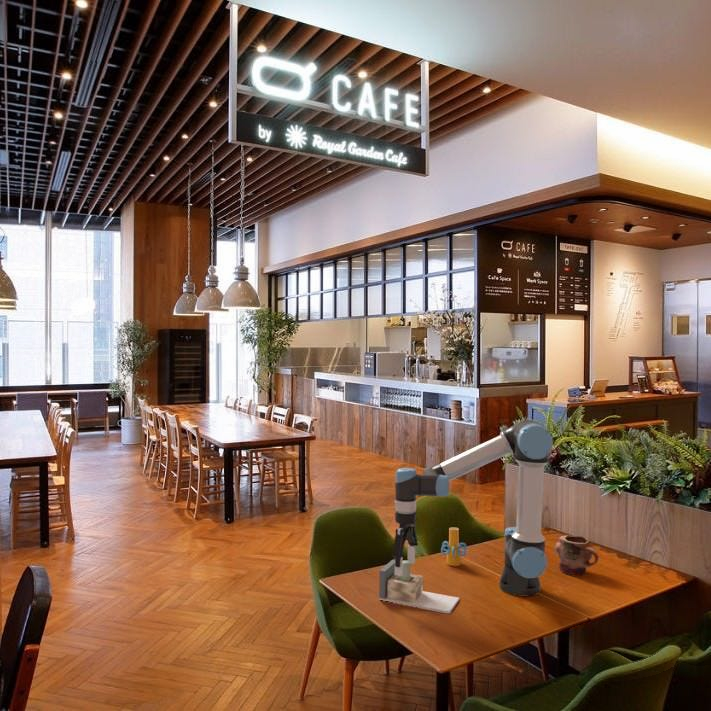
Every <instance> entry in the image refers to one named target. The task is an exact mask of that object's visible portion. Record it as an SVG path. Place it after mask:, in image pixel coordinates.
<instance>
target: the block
mask: <svg viewBox="0 0 711 711" xmlns="http://www.w3.org/2000/svg"><path fill="white" fill-rule="evenodd" d="M423 581H424V580H423V575H419V574H414V573H413V574H412V573H410V582H406V581H400V580H399V576H397V575H395V574H394V575H393V576H392V577H391V578H390V579H389V580H388V583H387V597H388V598H394V599H399V600H404V601H409V602H414V601H415V600H416V599H417V598H418V597H419V596H420V595H421V593H422V592H423V591H424V589H423V586H424V585H423V583H424V582H423Z"/></svg>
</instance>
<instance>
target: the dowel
mask: <svg viewBox="0 0 711 711" xmlns="http://www.w3.org/2000/svg"><path fill="white" fill-rule="evenodd" d="M410 574H411V564H410V562H409V561H408V560H403V569H402V576H399V580H400V581H406V582H410Z"/></svg>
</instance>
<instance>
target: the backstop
mask: <svg viewBox="0 0 711 711" xmlns="http://www.w3.org/2000/svg"><path fill="white" fill-rule="evenodd" d="M394 574H395V559H391V560H390V561H388V563H386V565H384V566H383V567H382V568H380V569H379V589H378V590H379V599H378V600H379V601H380V600H383V601H382V602H385V601H389V602H388V603H390V602H393V603H392V604H396V603H397V605H401V604H402V605H401V606H406V605H407V606H406V607H411V606H412V607H411V608H416V607H417V609H422V610H427V611H433V612H438V613H444V614H448V615H450V614H451V612H452V611H453V610H454V608H456V606H457V604H458V603H459V602H460V597H458V596H457V597H456V596H451V595H447V594H446V595H445V594H440V593H436V592H435V593H434V592H429V591H424V590H423V592H422V593H421V595H420V596H419V597H418V598H417V599H416V600H415V601H414V602H409V601H404V600H399V599H394V598H388V597H387V583H388V580H389V579H390V578H391V577H392V576H393V575H394ZM457 602H458V603H457Z"/></svg>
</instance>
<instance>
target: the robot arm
mask: <svg viewBox="0 0 711 711" xmlns="http://www.w3.org/2000/svg"><path fill="white" fill-rule="evenodd" d="M553 443H554V442H553V437H552V435H551V432H549V430H548V429H547V428H546V427H545V426H544V425H542V424H540V423H538V422H537V421H534V420H530V419H529V420H528V419H525V420H521V421H518V423H515V424H513V425H512V426H510V427H507V428H506V429H504V430H501V431H500V433H499V435H497V436H495V437H494V438H492V439H489V440H487V441H484V442H483V443H480V444H478V445H477V446H475V447H472V448H469V449H468V450H466V451H462V453H459V454H458V455H457V454H456V455H455V456H453V457H451V458H448V459H446V460H445V461H442V462H441V463H438V464H436V465H433V466H432V465H431V466H428V467H426V468H425V469H424V470H423V472H422V474H417V469H415V468H411V467H400V468H397V469H396V471H395V480H394V483H395V485H394V487H395V490H394V491H395V498H394V499H395V500H394V501H393V503H394V504H395V513H394V515H395V516H394V521H395V522H396V523H398V524H399V526H398V527H397V528H395V536H394V542H393V547H392V548H393V549H392V554H391V558H394V560H395V575H397V576H402V569H403V561H404V560H403V557H402V556H403V553H404V548H405V545H406V541H407V544H408V545H407V561H409V562H410V565H411V564H412V565H415V564H416V547H418V544H419V542H418V536H417V531H416V525H415V524H416V520H417V515H416V514H417V513H416V511H417V496H419V497H420V496H422V497H423V496H425V497H426V496H427V497H438V498H439V497H448V496H449V494H450V481H453V480H455V479H457V478H460V477H461V476H463V475H467V473H470V472H473V471H474V470H476V469H478V468H481V467H483V466H485V465H487V464H489V463H491V462H493V461H496V460H499V459H500V458H503V457H504V456H507V455H511V456H513V455H514V460H515V461H516V463H517V464H518V479H517V481H518V482H517V483H518V485H517V501H516V502H517V503H516V504H517V505H516V523H515V525H516V526H509V527H506V528H505V530H504V535H503V536H504V567H503V569H502V572H501V575H500V577H499V588H500V590H502V591H503V592H504V591H505V593H506V592H507V594H509V593H511V594H510V595H513V594H516V595H515V596H518V595H533V596H535V595H534V594H537V593H539V592H540V591H541V590H542V589H541V588H542V587H541V586H542V584H541V582H540V578H539V577H540V576H541V575H543V574H544V572H545V571H546V569H547V567H548V560H547V556H546V554H545V553H546V552H545V551H546V550H545V548H546V538H545V536H544V535H543V534H542V521H543V520H542V519H543V518H542V517H543V496H544V495H543V494H544V477H545V476H544V475H545V473H544V472H545V466H547V465H548V464H549V462H550V452H552V449H553ZM540 593H541V592H540ZM540 593H539V594H540ZM537 595H538V594H537Z"/></svg>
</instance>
